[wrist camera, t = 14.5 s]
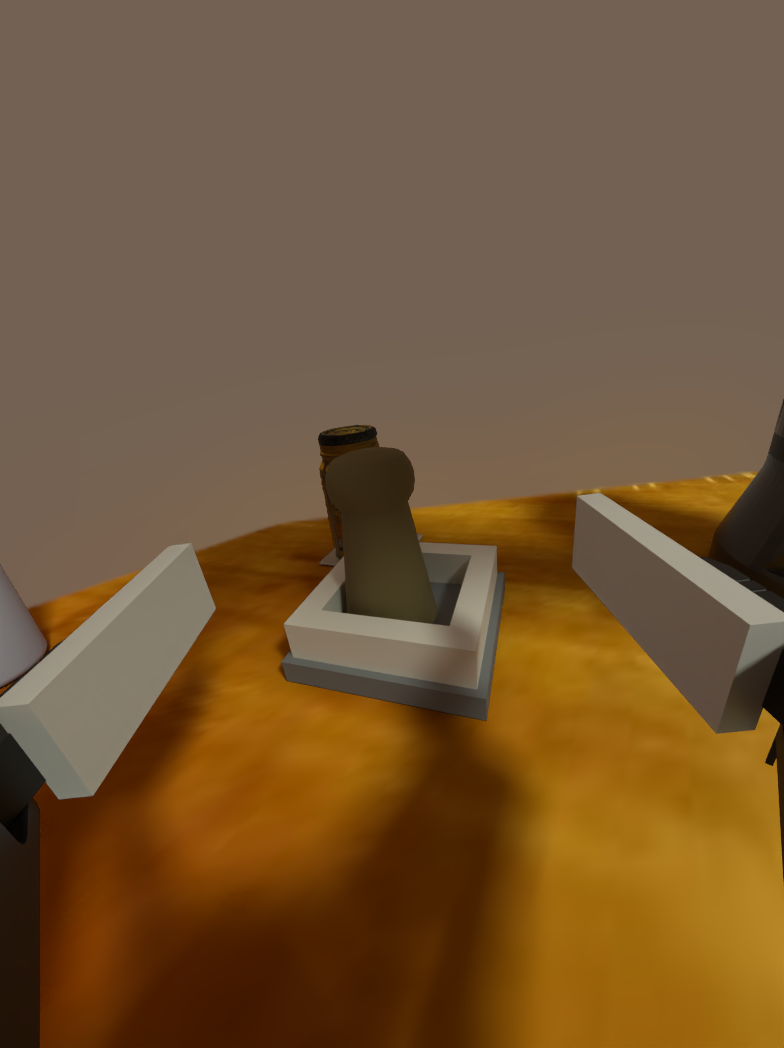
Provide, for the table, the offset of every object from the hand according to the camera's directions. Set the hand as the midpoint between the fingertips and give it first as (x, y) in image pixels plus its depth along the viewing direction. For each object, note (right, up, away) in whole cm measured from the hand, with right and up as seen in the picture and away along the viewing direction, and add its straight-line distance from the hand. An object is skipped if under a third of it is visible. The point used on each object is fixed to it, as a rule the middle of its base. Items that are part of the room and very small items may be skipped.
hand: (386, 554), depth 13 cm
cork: (0, -5, +12) cm, 14 cm away
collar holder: (+1, -6, +13) cm, 15 cm away
